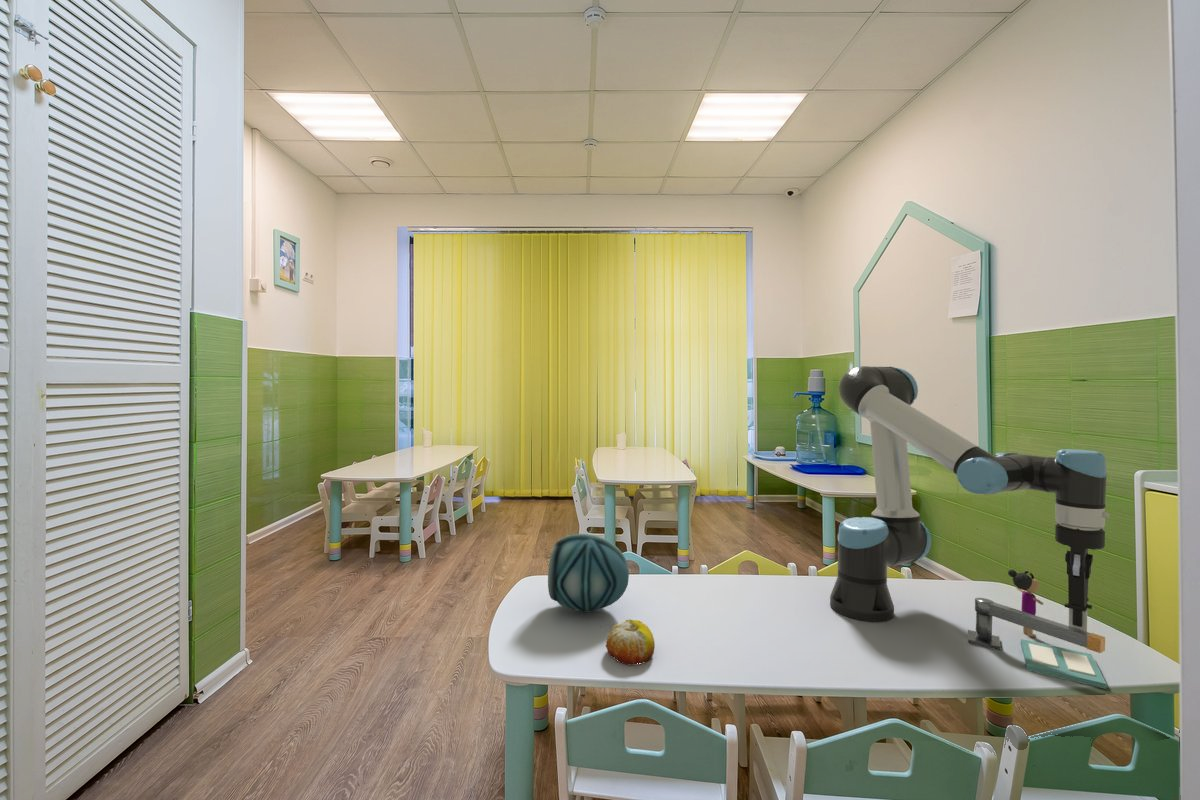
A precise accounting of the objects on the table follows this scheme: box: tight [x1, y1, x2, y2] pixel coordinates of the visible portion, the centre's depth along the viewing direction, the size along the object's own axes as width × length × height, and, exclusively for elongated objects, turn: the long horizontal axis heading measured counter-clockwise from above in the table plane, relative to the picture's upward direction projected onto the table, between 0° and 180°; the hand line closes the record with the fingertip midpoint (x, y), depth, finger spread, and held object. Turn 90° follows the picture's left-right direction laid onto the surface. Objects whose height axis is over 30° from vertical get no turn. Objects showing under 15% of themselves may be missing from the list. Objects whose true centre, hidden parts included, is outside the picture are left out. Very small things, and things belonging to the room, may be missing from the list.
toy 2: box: [1007, 569, 1044, 637], centre depth 125 cm, size 10×6×15 cm, turn 168°
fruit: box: [605, 619, 656, 665], centre depth 114 cm, size 11×10×8 cm
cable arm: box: [974, 597, 1106, 654], centre depth 113 cm, size 22×4×3 cm, turn 28°
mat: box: [1020, 638, 1107, 690], centre depth 111 cm, size 12×14×1 cm
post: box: [967, 611, 1002, 651], centre depth 121 cm, size 6×6×7 cm
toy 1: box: [547, 533, 630, 613], centre depth 136 cm, size 19×20×20 cm
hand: (1077, 639), depth 108 cm, fingers closed
